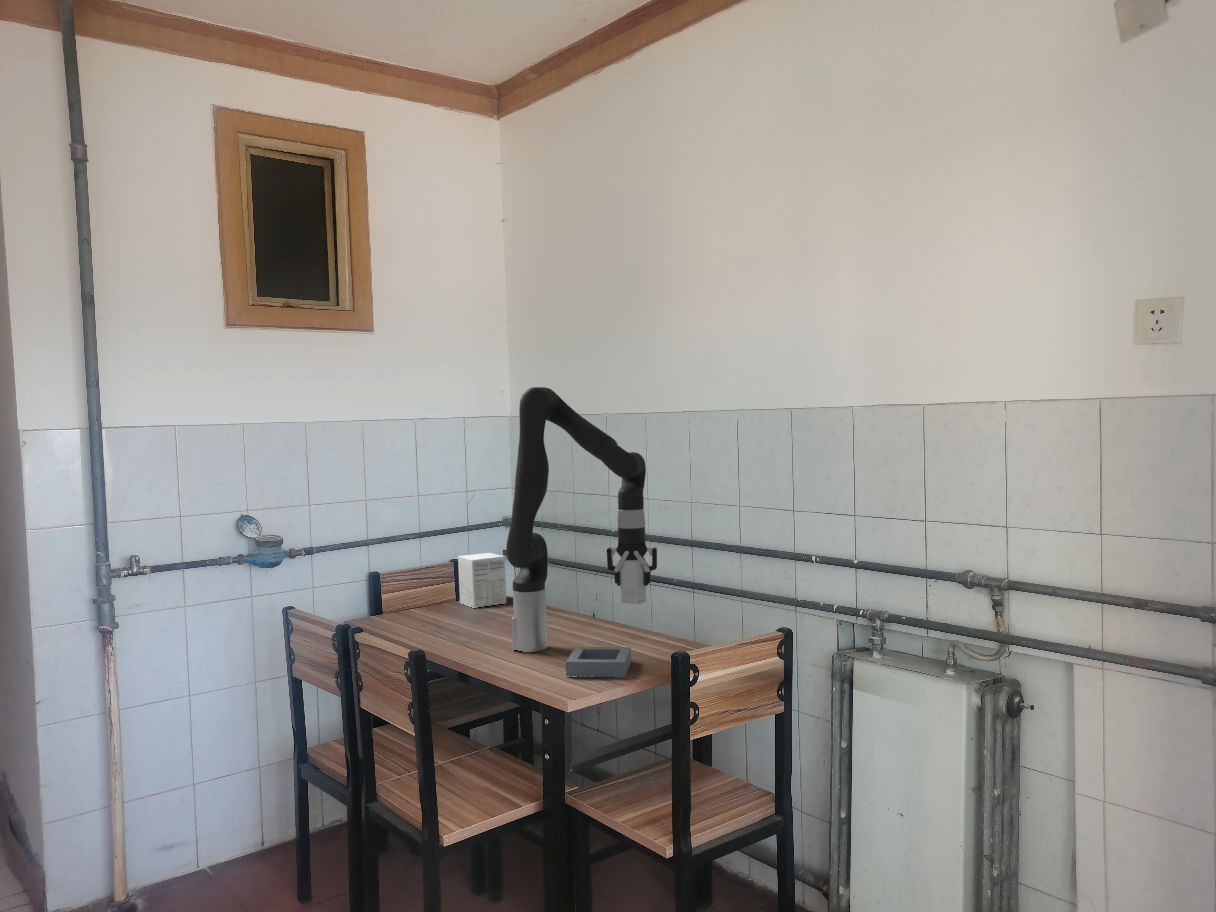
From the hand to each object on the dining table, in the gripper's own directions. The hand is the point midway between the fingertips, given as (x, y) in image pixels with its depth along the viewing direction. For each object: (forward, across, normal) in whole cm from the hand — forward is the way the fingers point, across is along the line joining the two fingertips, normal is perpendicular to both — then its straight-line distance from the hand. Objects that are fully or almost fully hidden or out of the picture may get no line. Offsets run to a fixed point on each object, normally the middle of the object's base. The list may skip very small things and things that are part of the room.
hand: (632, 585), depth 248 cm
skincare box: (+5, 0, 0) cm, 5 cm away
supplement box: (+21, -62, +72) cm, 97 cm away
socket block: (+20, -8, -14) cm, 25 cm away
